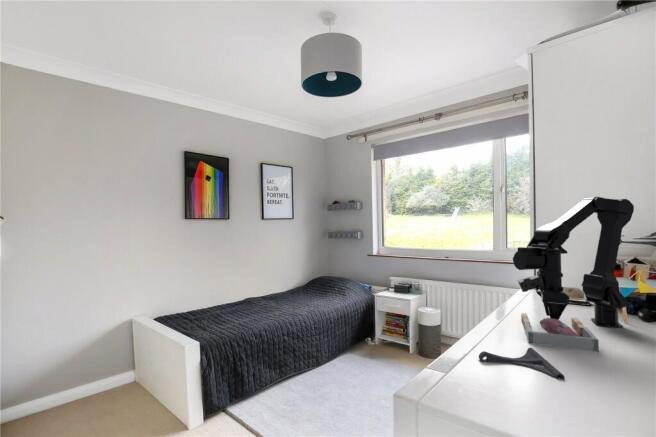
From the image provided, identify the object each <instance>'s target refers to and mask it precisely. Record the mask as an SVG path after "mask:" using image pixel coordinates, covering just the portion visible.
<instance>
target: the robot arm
mask: <svg viewBox="0 0 656 437" xmlns="http://www.w3.org/2000/svg"><path fill="white" fill-rule="evenodd" d="M634 211H635V206H634V204H633V203H632V202H631V201H630V200H629V199H628V198H619V199H616V198H605V197H600V196H590V197H589V196H588V197H583V198H582V199H581V200H580V202H578V203H577V204H576V205H575V206H573V207H572V208H571V209H569V210H568V211H567V212H566V213H564V214H563V215H562V216H560V217H559V218H557V220H555V221H552V222H549V223H547V224H544V225H542V226H540V227H538V228H536V230H534V232H533V236H532V238H531V239H530V241H528V243H527V246H526V247H523V246H520V247H517V250H516V252H515V253H513V254H514V255H513V257H512V262H513V265H514V267H515V268H516V270H519V271H526V270H527V271H528V270H537V271H536V274H535V275H531V276H528V277H523V278H521V279H518V280H517V282H518V285H519V286H520V289H521V292H522V293H524V292H525V293H526V292H528V291H532V290H535V293H536V294H537V295H538V296H539V297H540V299H541V302H542V303H543V307H544V310H545V315H546V316H547V317H549V318H553V319H557V320H560V318H561V316H562V314H563V313H564V311H565V309H566V308H567V307H568V305H569V304H570V296H569V295H568V294H567V293H566V292H565V291H564V286H562V284H563V282H562V280H563V279H562V278H563V277H564V273H563V272H562V254H568V251H567V250H566V249H564V248H563V245H564V244H565V243H566V242H567V240H568V239H569V238H570V235H571V232H572V231H573V230H574V229H575V228H577V226H579V225H580V224H582V223H583V222H584V221H586V220H587V219H588V218H589V217H590V216H592V215H594V213H595V214H596V216H597V220H598V222H599V224H600V226H601V228H600V233H599V238H598V244H597V247H596V248H597V249H596V255H595V260H594V264H593V269H592V270H591V272H590V273H584V275H583V277H582V278H583V280H582V283H581V285H580V286H581V287H582V292H583V293H584V296H585V298H586V301H587V302H591V303H593V305H594V307H593V308H594V310H593V311H594V318H593V317H591V318H590V320H591V321H592V322H593V323H594V324H595V325H596V326H602V327H610V328H611V327H612V328H622V329H623V328H624V325H622V324H621V323H620V322H619V309H624V308H626V307H627V305H628V299H627V298H626V297H625V296H624V295H623V294H622V293H621V292H620V288H619V287H620V283H619V281H618V279H617V277H616V275H615V268H616V264H617V259H618V254H619V249H620V243H621V242H620V241H621V238H622V232H623V228H624V227H626V225H627V224H628V223H630V221H631V220H632V217H633V213H634Z"/></svg>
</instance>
